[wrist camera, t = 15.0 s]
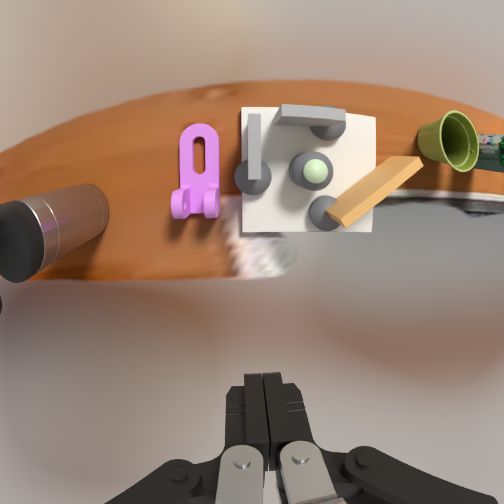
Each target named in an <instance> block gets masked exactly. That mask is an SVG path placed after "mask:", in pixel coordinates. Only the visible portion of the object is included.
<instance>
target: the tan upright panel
mask: <svg viewBox="0 0 504 504" xmlns="http://www.w3.org/2000/svg"><path fill="white" fill-rule="evenodd" d="M422 167H423V164H422V162H421V160H420V158H419V157H414V156H390V157H389V158H388V159H387V160H385V161H384V162H383V163H381V164H380V165H379V166H377V167H376V168H375V169H374V170H372V171H371V172H370V173H368V174H367V175H366V176H364V177H363V178H362V179H361V180H359V181H358V182H357V183H355V184H354V185H353V186H351V187H350V188H349V189H348V190H346V191H345V192H344V193H342V194H341V195H340V196H338V197H337V198H334V197H332V196H328V195H322V196H319V197H317V198H316V199H314V200H313V202H312V203H311V205H310V207H309V218H310V220H311V222H312V223H313V224H314V225H315V226H316V227H317V228H318V229H320V230H322V231H332V230H334V229H336V228H338V227H339V226H340V225H342V226H343V227H345V228H347V227H348V226H350V225H351V224H352V223H354V222H355V221H356V220H357V219H359V218H360V217H361V216H362V215H364V214H365V213H366V212H368V211H369V210H370V209H371V208H373V207H374V206H375V205H376V204H378V203H379V202H380V201H381V200H383V199H384V198H385V197H386V196H388V195H389V194H390V193H391V192H392V191H394V190H395V189H396V188H397V187H399V186H400V185H401V184H402V183H403V182H405V181H406V180H407V179H408V178H410V177H411V176H412V175H413V174H414V173H416V172H417V171H418V170H419V169H420V168H422Z"/></svg>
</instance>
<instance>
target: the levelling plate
mask: <svg viewBox="0 0 504 504" xmlns="http://www.w3.org/2000/svg"><path fill="white" fill-rule="evenodd" d="M241 108H242V162H241V163H240V164H239V165H238V167H237V168H236V170H235V174H234V180H235V183H236V185H237V187H238V188H239V190H241V191H242V227H243V232H371V231H372V219H373V208H371V209H370V210H369V211H368V212H366V213H365V214H364V215H362V216H361V217H360V218H359V219H357V220H356V221H355V222H354V223H352V224H351V225H350V226H348V227H347V228H345V227H343V226H342V225H340V226H339V227H338V228H336V229H334V230H332V231H322V230H320V229H318V228H317V227H316V226H315V225H314V224H313V223H312V222H311V220H310V218H309V207H310V205H311V203H312V202H313V200H314V199H316V198H317V197H319V196H322V195H328V196H332V197H334V198H337V197H338V196H340V195H341V194H342V193H344V192H345V191H346V190H348V189H349V188H350V187H351V186H353V185H354V184H355V183H357V182H358V181H359V180H361V179H362V178H363V177H364V176H366V175H367V174H368V173H370V172H371V171H372V170H374V169H375V167H376V122H375V117H370V116H363V115H356V114H349V113H346V111H345V110H344V109H337V108H335V107H333V106H322V107H317V106H305V105H288V104H281V106H280V107H279V108H275V107H241Z"/></svg>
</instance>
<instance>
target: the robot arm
mask: <svg viewBox="0 0 504 504" xmlns="http://www.w3.org/2000/svg"><path fill="white" fill-rule="evenodd" d="M108 218H109V208H108V203H107V200H106V198H105V196H104V194H103V193H102V192H101V191H100V189H98V188H97V187H96V186H93V185H91V184H82V185H76V186H71V187H66V188H62V189H57V190H53V191H49V192H44V193H40V194H36V195H32V196H29V197H25V198H21V199H18V200H14V201H10V202H7V203H4V204H1V205H0V275H1V276H2V277H3V278H5V279H6V280H8V281H10V282H14V283H19V282H23V281H25V280H27V279H29V278H30V277H32V276H33V275H35V274H36V273H38V272H39V271H41V270H42V269H44V268H45V267H47V266H48V265H50V264H51V263H53V262H55V261H56V260H58V259H59V258H61V257H62V256H64V255H66V254H67V253H69V252H71V251H72V250H74V249H76V248H77V247H79V246H81V245H82V244H84V243H86V242H88V241H89V240H91V239H93V238H94V237H96V236H98V235H99V234H101V233H102V231H103V230H104V229H105V227H106V225H107V222H108ZM1 310H2V301H1V297H0V313H1ZM225 423H226V424H225V447H224V450H223V451H222V453H221V454H220V455H219V456H218V457H217V458H215V459H213V460H211V461H207V462H203V463H199V464H192V463H191V462H189V461H187V460H182V459H175V460H170V461H168V462H166V463H164V464H163V465H161V466H160V467H159V468H157V469H156V470H155V471H153V472H152V473H150V474H149V475H148V476H146V477H145V478H143V479H142V480H140V481H139V482H138V483H136V484H134V485H133V486H131V487H130V488H129V489H127V490H126V491H124V492H122V493H121V494H119V495H118V496H116V497H114V498H113V499H111V500H110V501H108V502H106V503H105V504H263V488H264V478H265V471H268V463H269V471H274V470H275V471H276V479H277V482H276V489H277V493H278V497H279V502H280V504H498V502H497V500H496V499H495V498H494V497H492V496H490V495H486V494H483V493H479V492H476V491H473V490H470V489H467V488H464V487H461V486H458V485H456V484H453V483H450V482H448V481H445V480H443V479H440V478H438V477H435V476H432V475H430V474H428V473H425V472H423V471H421V470H419V469H416V468H414V467H412V466H410V465H408V464H405V463H403V462H401V461H399V460H397V459H395V458H393V457H391V456H389V455H387V454H385V453H383V452H381V451H379V450H377V449H375V448H373V447H369V446H360V447H356V448H354V449H352V450H351V451H350V452H349V453H339V452H330V451H326V450H324V449H322V448H320V447H319V446H318V445H317V444H316V443H315V442H314V440H313V437H312V433H311V430H310V426H309V422H308V418H307V414H306V411H305V406H304V403H303V398H302V395H301V391H300V390H299V389H298V388H297V386H296V385H295V384H294V383H288V384H283V383H282V378H281V373H280V372H274V373H263V376H262V374H261V373H259V374H244V386H232V387H231V388H230V390H229V392H228V393H227V395H226V421H225Z"/></svg>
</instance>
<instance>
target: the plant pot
mask: <svg viewBox="0 0 504 504" xmlns="http://www.w3.org/2000/svg"><path fill="white" fill-rule="evenodd" d="M417 144H418V147H419V149H420V151H421V153H422V154H423V155H424V156H425V157H426V158H429V159H432V160H435V161H439V162H442V163H446V164H448V165H450V166H451V167H452V168H454V169H455V170H457V171H460V172H467V171H469V170H471V169H472V168H473V167H474V165H475V164H476V161H477V159H478V154H479V141H478V137H477V133H476V130H475V128H474V126H473V124H472V123H471V121H470V120H469V119H468V118H467V117H466V116H465V115H464V114H463V113H461V112H459V111H449V112H447V113H446V114H445V115H444V116H443V117H442V118H441V119H439V120H437V121H435V122H432V123H429V124H427V125H424V126H422V127H421V128H420V129H419V131H418V141H417Z"/></svg>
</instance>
